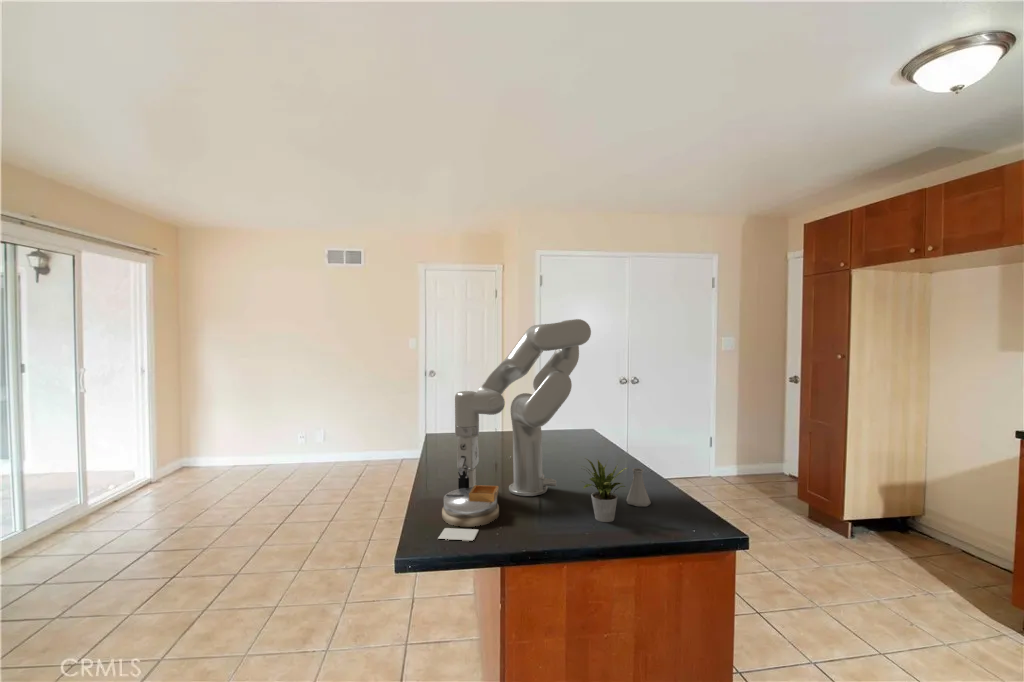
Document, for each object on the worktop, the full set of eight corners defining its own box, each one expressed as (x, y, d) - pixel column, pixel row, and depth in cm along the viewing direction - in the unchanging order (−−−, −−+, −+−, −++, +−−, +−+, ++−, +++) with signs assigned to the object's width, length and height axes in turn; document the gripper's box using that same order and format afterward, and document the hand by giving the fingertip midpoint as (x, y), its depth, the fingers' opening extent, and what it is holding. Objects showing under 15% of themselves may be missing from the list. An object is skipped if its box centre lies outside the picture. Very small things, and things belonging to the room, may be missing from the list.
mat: (478, 531, 113) (478, 529, 113) (473, 541, 107) (473, 540, 107) (444, 529, 114) (444, 528, 114) (437, 539, 108) (437, 538, 108)
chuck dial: (436, 516, 117) (436, 497, 117) (452, 496, 132) (452, 480, 132) (491, 518, 115) (491, 499, 115) (501, 498, 130) (500, 481, 130)
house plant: (563, 515, 122) (562, 457, 122) (597, 503, 130) (596, 449, 130) (602, 533, 110) (601, 468, 110) (637, 519, 119) (636, 459, 119)
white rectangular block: (476, 495, 139) (475, 467, 139) (473, 500, 135) (472, 471, 135) (463, 495, 140) (463, 467, 140) (460, 499, 136) (460, 470, 136)
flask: (652, 500, 132) (651, 467, 132) (649, 508, 126) (648, 474, 126) (628, 497, 135) (627, 465, 135) (623, 505, 129) (623, 471, 129)
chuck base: (503, 505, 130) (503, 498, 130) (493, 528, 114) (493, 520, 114) (451, 503, 132) (451, 496, 132) (434, 525, 117) (434, 518, 117)
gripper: (472, 437, 128) (472, 495, 128) (484, 425, 145) (484, 477, 145) (447, 436, 129) (448, 494, 129) (462, 425, 146) (463, 476, 146)
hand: (467, 485), depth 137 cm, fingers open, 8 cm apart
